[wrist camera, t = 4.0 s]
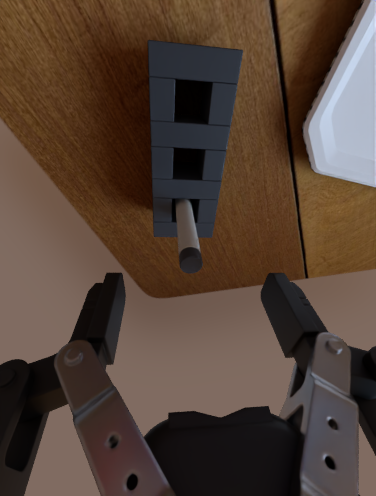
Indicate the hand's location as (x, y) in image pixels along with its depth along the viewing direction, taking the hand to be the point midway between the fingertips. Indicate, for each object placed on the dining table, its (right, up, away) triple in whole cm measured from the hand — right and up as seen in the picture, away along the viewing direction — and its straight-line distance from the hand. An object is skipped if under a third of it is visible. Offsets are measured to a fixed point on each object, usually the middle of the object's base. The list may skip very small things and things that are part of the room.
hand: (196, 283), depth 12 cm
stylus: (-1, +8, +11) cm, 14 cm away
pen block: (-1, +11, +8) cm, 14 cm away
